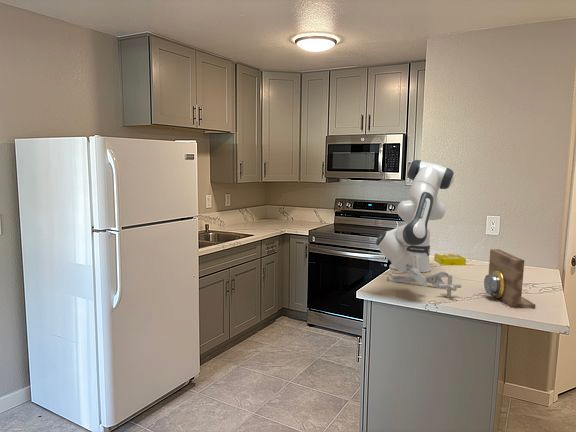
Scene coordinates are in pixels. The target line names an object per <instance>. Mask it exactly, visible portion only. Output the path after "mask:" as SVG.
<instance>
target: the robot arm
mask: <svg viewBox="0 0 576 432" xmlns="http://www.w3.org/2000/svg"><path fill="white" fill-rule="evenodd" d="M454 174H455V172H454V171H453V169H451V168H449V167H445V166H443V165H440V164H437V163H432V162H428V161H423V160H421V159H415V160H412V161H411V163H410V164H409V165H408V167H407V177H408V179H410V180H411V181H412V183H411V185H410V187H409V192H408V198H409V199H408V200H402V201H400V202H399V203H398V205H397V208H396V209H397V210H396V211H397V214H398V216H399V218H400V219H402V220H403V221H404V223H405V224H403V225H399V226H397V227H394V228H393V229H391V230H390V229H389V230H387V231H386V230H385V231H383V232H381V233H380V234H378V236H377V238H376V241H375V245H376V247H377V248H378V250H379V251H380V252H381V254H382V255H383V256H384V257H385V258H386V259H388V261H390V264H389V269H391V270H392V269H393V270H397V271H398V272H399V273H404V274H409V276H412V277H413V278H414V279H415V280H416V281H417V282H416V283H417V284H419V286H423V287H424V288H425V287H426V288H427V286H428V284H429V283H428V282H426V281H427V280H426V278H425V277H424V276H425V275H423V274H422V273H427V272H428V273H429V272H431V271H432V269H431V264H430V254H431V245H430V240H431V239H430V237H431V232H430V230H429V229H428V223H429V221H438V220H441V219H442V218H444V216H445V213H446V206H445V205H444V203H443V202H442V201H440V200H439V199H438V195H439V190H447V189H449V188H450V187H451V186H452V185H453V183H454V180H455V175H454Z"/></svg>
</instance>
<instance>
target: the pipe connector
mask: <svg viewBox="0 0 576 432" xmlns="http://www.w3.org/2000/svg"><path fill="white" fill-rule="evenodd" d="M448 274H449V275H448V277H447V281H445V280H444V281H442V282H443V284H438V288H437V289H446V298H448V297H451V298H452V291H453V292H456V291H457V289H460V288H462V284H461V283H453V274H451V273H448Z"/></svg>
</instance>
